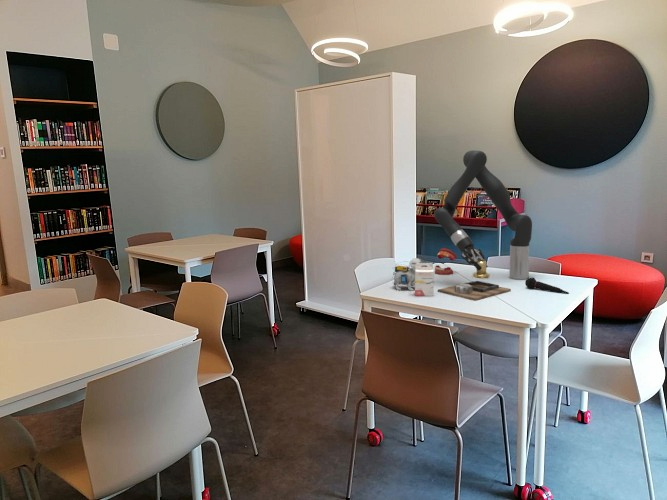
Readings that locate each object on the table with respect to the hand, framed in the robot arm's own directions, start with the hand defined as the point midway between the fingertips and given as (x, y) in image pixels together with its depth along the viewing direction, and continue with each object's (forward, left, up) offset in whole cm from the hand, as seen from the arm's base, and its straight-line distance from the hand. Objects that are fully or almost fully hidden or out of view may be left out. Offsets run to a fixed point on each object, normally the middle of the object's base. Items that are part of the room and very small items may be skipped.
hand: (483, 268), depth 234 cm
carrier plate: (+4, -2, -11) cm, 12 cm away
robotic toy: (+22, -27, -11) cm, 36 cm away
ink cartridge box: (+26, -13, -11) cm, 31 cm away
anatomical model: (-17, -39, -11) cm, 44 cm away
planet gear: (0, -1, -4) cm, 4 cm away
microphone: (-21, +19, -11) cm, 31 cm away
